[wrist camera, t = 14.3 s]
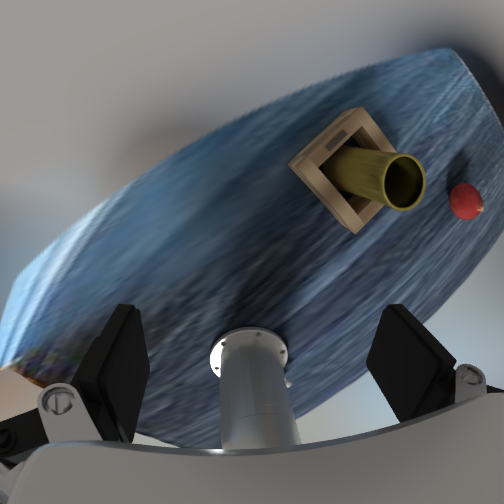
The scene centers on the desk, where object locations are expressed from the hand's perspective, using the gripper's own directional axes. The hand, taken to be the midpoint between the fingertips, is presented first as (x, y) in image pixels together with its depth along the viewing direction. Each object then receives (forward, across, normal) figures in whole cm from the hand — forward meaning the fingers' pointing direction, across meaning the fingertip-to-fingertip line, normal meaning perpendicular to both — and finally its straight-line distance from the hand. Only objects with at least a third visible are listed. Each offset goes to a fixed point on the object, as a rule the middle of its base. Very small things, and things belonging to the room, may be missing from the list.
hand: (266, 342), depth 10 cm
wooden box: (+27, -14, -6) cm, 31 cm away
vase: (+27, -14, -6) cm, 31 cm away
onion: (+27, -35, -5) cm, 45 cm away
